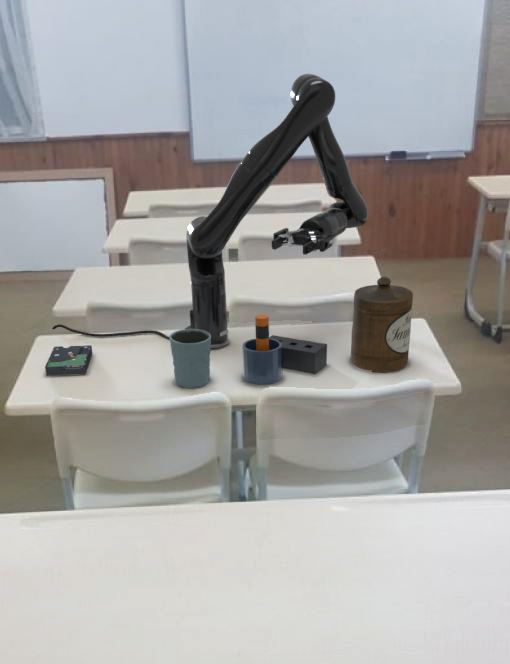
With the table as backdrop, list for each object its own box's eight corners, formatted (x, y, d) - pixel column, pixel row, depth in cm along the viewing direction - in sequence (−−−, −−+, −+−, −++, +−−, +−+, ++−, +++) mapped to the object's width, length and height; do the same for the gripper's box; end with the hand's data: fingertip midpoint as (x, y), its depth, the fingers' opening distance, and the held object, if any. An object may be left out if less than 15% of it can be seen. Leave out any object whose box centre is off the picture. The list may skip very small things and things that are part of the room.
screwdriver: (254, 378, 212) (252, 317, 203) (260, 373, 214) (259, 313, 206) (265, 380, 210) (264, 319, 202) (271, 375, 213) (270, 315, 204)
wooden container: (402, 375, 212) (408, 288, 200) (344, 369, 216) (347, 283, 204) (412, 354, 224) (419, 271, 212) (357, 349, 228) (361, 267, 216)
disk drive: (54, 356, 230) (46, 376, 217) (53, 346, 228) (44, 366, 216) (93, 354, 230) (86, 374, 218) (91, 344, 229) (85, 364, 216)
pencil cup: (236, 382, 211) (235, 348, 206) (255, 369, 218) (254, 335, 213) (270, 389, 207) (270, 354, 202) (288, 375, 214) (288, 341, 209)
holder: (260, 365, 220) (259, 343, 217) (272, 356, 225) (272, 334, 222) (314, 375, 213) (315, 353, 210) (326, 366, 219) (327, 344, 215)
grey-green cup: (179, 372, 217) (176, 327, 211) (217, 375, 216) (215, 329, 209) (168, 388, 209) (164, 341, 203) (207, 390, 207) (205, 344, 201)
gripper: (295, 211, 217) (263, 228, 205) (345, 218, 210) (314, 236, 199) (295, 241, 221) (263, 259, 210) (344, 249, 215) (314, 267, 204)
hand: (288, 247), depth 205 cm, fingers open, 8 cm apart
